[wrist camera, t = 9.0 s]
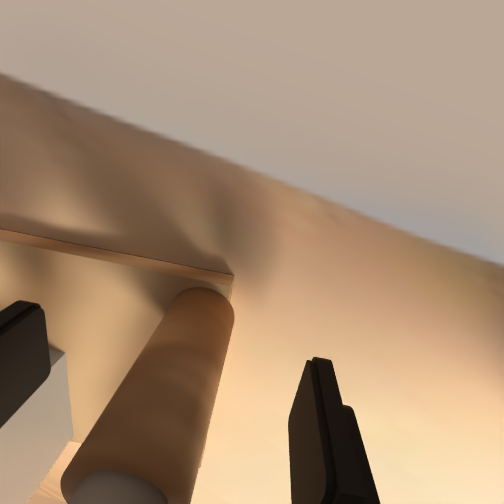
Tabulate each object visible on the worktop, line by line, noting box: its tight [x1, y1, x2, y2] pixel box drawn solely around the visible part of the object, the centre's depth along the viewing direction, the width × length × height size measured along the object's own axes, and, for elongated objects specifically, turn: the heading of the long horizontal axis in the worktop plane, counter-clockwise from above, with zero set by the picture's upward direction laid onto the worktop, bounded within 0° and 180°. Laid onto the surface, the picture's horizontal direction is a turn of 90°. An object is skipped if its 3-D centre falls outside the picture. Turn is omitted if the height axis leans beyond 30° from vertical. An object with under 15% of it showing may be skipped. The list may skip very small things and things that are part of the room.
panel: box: [0, 229, 234, 468], centre depth 15 cm, size 18×12×1 cm, turn 80°
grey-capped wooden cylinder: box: [61, 287, 234, 504], centre depth 9 cm, size 3×3×9 cm
